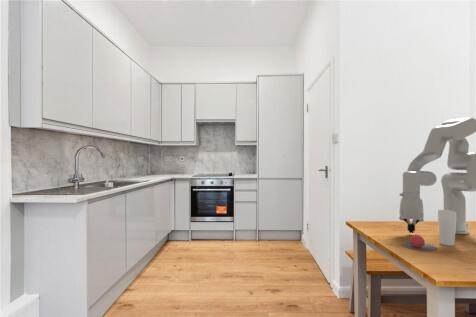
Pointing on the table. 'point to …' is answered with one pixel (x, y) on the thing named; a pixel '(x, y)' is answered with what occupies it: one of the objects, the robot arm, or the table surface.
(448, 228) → the drinking glass
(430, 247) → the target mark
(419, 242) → the ball
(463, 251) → the table surface
